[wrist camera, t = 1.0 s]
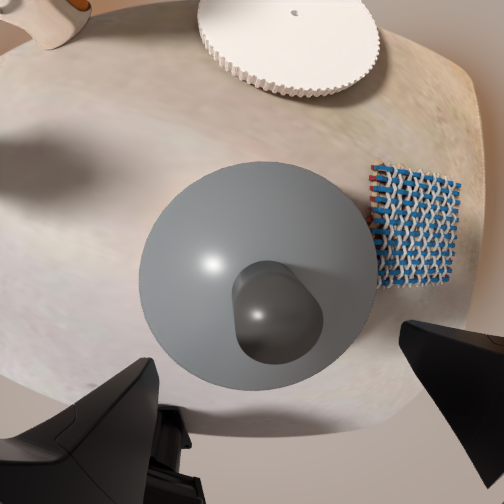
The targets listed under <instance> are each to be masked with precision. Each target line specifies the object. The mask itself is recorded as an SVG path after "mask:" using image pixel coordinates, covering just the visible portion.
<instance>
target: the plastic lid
mask: <svg viewBox="0 0 504 504" xmlns="http://www.w3.org/2000/svg"><path fill="white" fill-rule="evenodd" d="M198 6H199V8H198V14H197V16H198V25H199V32H200V36H201V38H202V41H203V44H205V47H206V49H207V50H209V54H210V55H211V56H212V55H213V56H214V60H215V61H219V65H220V66H224V67H225V70H226V71H231V72H232V75H233V76H236V75H237V76H238V77H239V79H240V80H246V81H247V84H254V85H255V87H257V88H259V87H262V88H263V90H265V91H268V90H271V91H272V93H277V92H280V93H281V95H285V94H289V96H292V97H293V96H294V95H298V97H303V95H306V97H311V96H312V95H314V96H315V97H319V96H320V95H322V96H326V95H327V94H328V93H329V94H330V95H331V94H334V93H335V92H337V93H338V92H340V91H341V90H345V89H346V88H348V87H350V86H352V85H353V84H355V83H356V82H357V81H359V80H360V79H361V78H363V77H364V76H365V75H366V74H368V73H369V71H370V70H371V69H372V68H373V67H372V66H373V65H375V61H376V60H377V57H376V56H378V55H379V52H378V50H380V47H379V46H378V45H380V42H379V41H378V40H379V39H380V38H379V36H378V35H377V34H378V33H379V32H378V31H377V30H376V28H377V26H376V25H375V24H374V23H375V21H374V20H373V19H372V15H371V14H369V10H368V9H366V8H365V5H364V4H362V3H361V0H200V3H199V5H198Z"/></svg>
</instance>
